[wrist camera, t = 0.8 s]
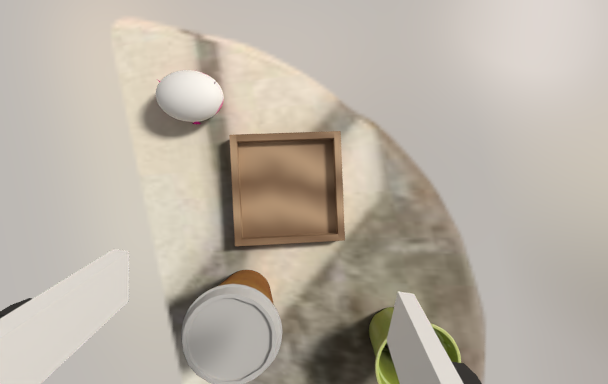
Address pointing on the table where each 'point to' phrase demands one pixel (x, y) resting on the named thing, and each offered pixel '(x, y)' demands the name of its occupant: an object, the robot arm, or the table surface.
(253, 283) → the disposable coffee cup
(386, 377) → the plant pot
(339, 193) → the tray
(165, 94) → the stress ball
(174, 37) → the table surface
